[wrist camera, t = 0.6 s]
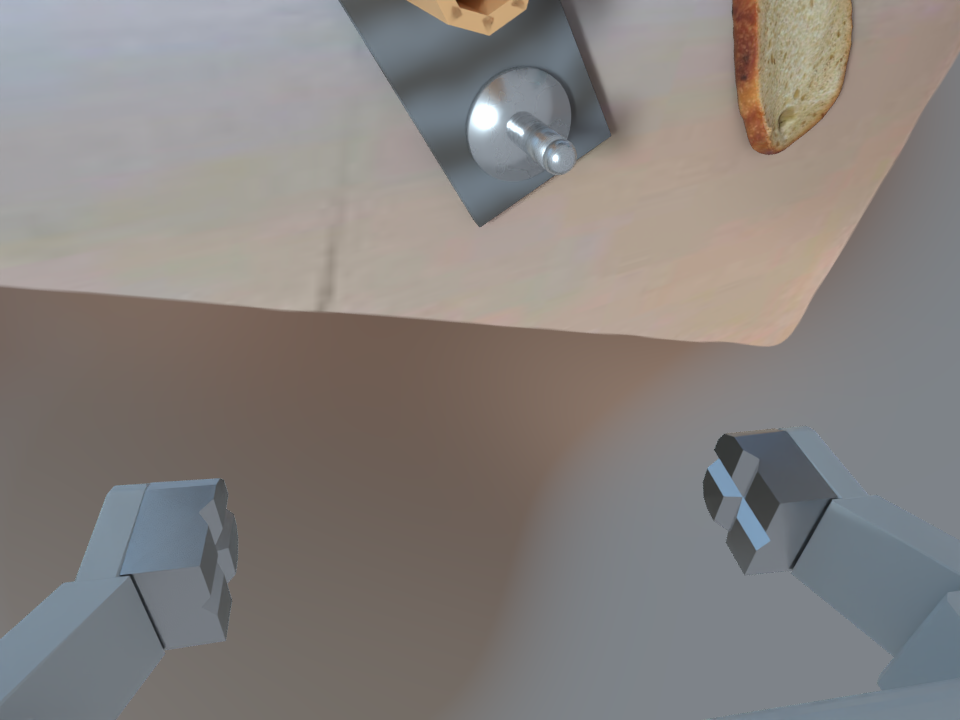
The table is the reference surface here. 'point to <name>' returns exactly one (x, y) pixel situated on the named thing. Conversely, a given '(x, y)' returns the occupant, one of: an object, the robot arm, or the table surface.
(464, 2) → the sleeve
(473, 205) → the board
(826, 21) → the slice of bread
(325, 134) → the table surface
